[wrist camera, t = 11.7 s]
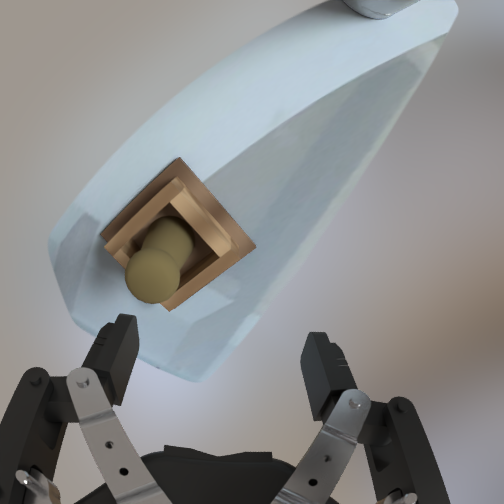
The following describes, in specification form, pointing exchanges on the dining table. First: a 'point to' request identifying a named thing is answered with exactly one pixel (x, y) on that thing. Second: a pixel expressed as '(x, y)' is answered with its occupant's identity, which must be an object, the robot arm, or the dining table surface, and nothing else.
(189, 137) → the dining table surface
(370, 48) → the dining table surface
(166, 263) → the cork
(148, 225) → the shaker caddy
